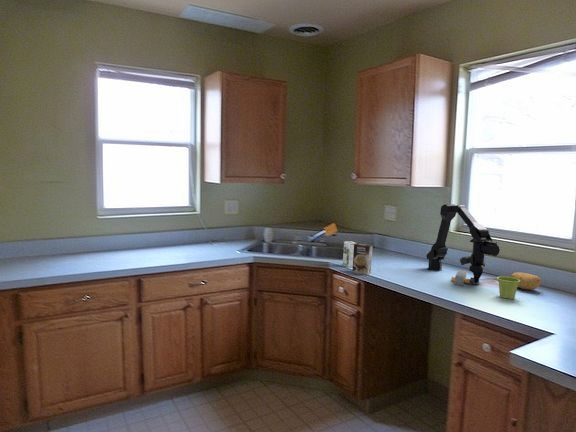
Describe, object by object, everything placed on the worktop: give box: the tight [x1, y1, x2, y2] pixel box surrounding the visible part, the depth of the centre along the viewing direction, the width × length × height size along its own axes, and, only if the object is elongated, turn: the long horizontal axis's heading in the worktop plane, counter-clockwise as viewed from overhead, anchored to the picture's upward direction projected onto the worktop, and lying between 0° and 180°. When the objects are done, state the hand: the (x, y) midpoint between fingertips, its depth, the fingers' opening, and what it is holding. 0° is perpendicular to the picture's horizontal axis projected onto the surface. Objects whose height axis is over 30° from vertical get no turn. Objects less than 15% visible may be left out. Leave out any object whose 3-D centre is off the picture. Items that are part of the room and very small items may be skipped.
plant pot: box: [496, 276, 520, 300], centre depth 191 cm, size 9×9×9 cm
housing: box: [454, 269, 467, 286], centre depth 215 cm, size 4×14×5 cm, turn 152°
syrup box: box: [342, 240, 357, 268], centre depth 243 cm, size 6×6×14 cm
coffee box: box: [352, 242, 373, 276], centre depth 227 cm, size 9×6×16 cm
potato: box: [510, 271, 542, 291], centre depth 205 cm, size 10×14×8 cm
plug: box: [451, 276, 480, 286], centre depth 214 cm, size 13×3×3 cm, turn 62°
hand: (476, 282), depth 211 cm, fingers closed on plug, 3 cm apart
